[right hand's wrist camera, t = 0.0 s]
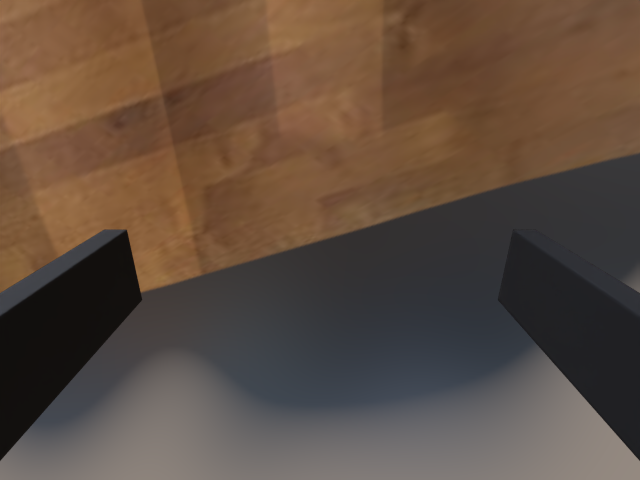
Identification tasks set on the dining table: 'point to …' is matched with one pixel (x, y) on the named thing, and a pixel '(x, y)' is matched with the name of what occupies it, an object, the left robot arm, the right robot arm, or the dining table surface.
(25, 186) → the dining table surface
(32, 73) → the dining table surface
